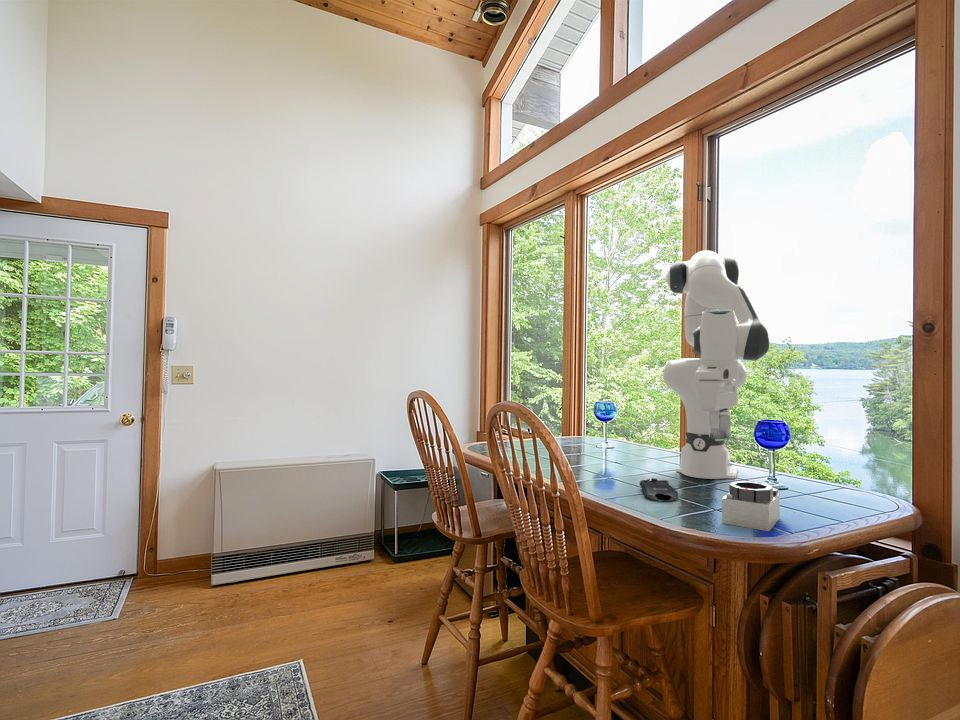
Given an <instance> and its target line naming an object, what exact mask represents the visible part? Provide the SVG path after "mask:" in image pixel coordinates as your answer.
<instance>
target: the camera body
mask: <svg viewBox="0 0 960 720" xmlns="http://www.w3.org/2000/svg"><path fill="white" fill-rule="evenodd" d="M728 485H729V492H727V493H726V494H725V495H724V496H722V498H721V520H722V521H721V523H722V524H723V525H724V524H725V525H729V526H730V525H731V526H737V527H742V528H747V529H752V530H753V529H754V530H759V531H760V530H761V531H763V532H770V531H771V530H772V529H773V528H774V526H775V525H776V524H777V522H779V520H780V518H781V517H780V513H781V512H780V502H781V501H780V493H779V488H774V487H773V486H772V485H770V484H766V483H763V482H757V481H749V480H748V481H747V480H745V481H739V480H738V481H731V483H729V484H728Z"/></svg>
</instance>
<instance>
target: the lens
mask: <svg viewBox="0 0 960 720" xmlns="http://www.w3.org/2000/svg"><path fill="white" fill-rule="evenodd" d="M731 413H732V412H731V409H730V410H729V409H722V410H720V414H719V421H720V428H712V427H711V419H710V416H709V437H710V438H717V439H725V440H728V439H731V438H732V433H731V431H732V430H731V425H732V422H731V419H732V418H731Z"/></svg>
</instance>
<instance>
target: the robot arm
mask: <svg viewBox="0 0 960 720" xmlns="http://www.w3.org/2000/svg"><path fill="white" fill-rule="evenodd" d="M740 279H741V267H740V266H739V263H738V261H737V260H736V259H735V258H733V257H726V256H725V257H722V258H721V257H720V255H719V254H718V253H717V252H715V251H712V250H707V249H706V250H700V251H698V252H696V253H695V254H694V255H693V256H692V257H691V258H690V260H687V261H677V262H674V263H672V264H671V265H670V266H669V269H668V270H667V273H666V283H667V285H668V286H667V287H668V288H669V290H670V291H671V292H672V293H673V294H674V293H675V294H680V295H681V294H683V293H684V294H686V296H685V304H684V337H685V340H686V342H687V344H689V345H690V346H691V347H692V353H694V354H695V356H697V358H680V359H679V358H678V359H673V360H669V361H668V363H666V365H665V367H664V369H663V371H662V372H663V373H662V374H663V375H662V376H663V381H664V383H665V385H666V386H667V387H668V388H669V389H670V390H671V391H673V392H674V393H675V394H676V395H678V397H679V398H680V400H681V401H682V404H683V407H684V409H685V416H686V419H685V420H686V432H685V436H684V439H685V445H684V446H683V447H681V452H680V453H681V454H680V467H677V468H676V472H678V473H681V474H682V475H685V476H687V477H690V478H697V479H706V480H707V479H709V480H719V479H720V480H721V479H736V477H737V474H738V467H736V466H732V462H731V453H730V452H729V450H728V448H727V447H726V445H725V444H726V439H717V438H710V437H709V416H710V419H711V427H712V428H720V421H719V414H720V410H722V409H729V410H730V411H731V409H730V408H735V407H737V406H738V389H741V388H742V386H744V384H745V382H746V380H747V369H746V367H745V365H744V364H743V362H742V361H741V360H744V361H758V360H760V359H761V358H762V357H763V356H765V355H766V354H767V353H768V352H769V350H770V336H769V332H768V329H767V328H766V326H765V325H764V324H763V323H762V322H761V320H760V318H759V316H758V315H757V312H756V311H755V309H754V307H753V304H752V302H751V300H750V299H749V296H748V295H747V294H746V291H745V289H744V288H743V287H742V286H739V285H738V283H739V280H740Z"/></svg>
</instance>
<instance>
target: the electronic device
mask: <svg viewBox="0 0 960 720" xmlns="http://www.w3.org/2000/svg"><path fill="white" fill-rule="evenodd" d="M639 486H640V487H641V489H642V491H643V494H644V497H645V498H646V499H648V500H651V501H656V502H664V501H665V502H671V501H673V502H674V501H676V500H677V499H678V498H679V492H678V491H677V489H675V488H674V487H673V486H672V485H671V484H670V482H669V481H668V480H667V479H665V480H661V479H658V478H651V479H649V478H647V479H641V480H640V481H639ZM657 494H662V495H660V496H658V495H657ZM664 495H665V496H664ZM668 496H671V498H670V499H669V497H668Z"/></svg>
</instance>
